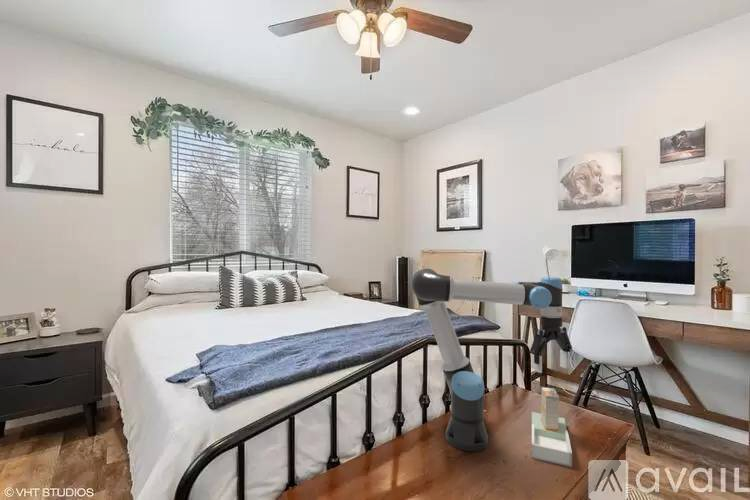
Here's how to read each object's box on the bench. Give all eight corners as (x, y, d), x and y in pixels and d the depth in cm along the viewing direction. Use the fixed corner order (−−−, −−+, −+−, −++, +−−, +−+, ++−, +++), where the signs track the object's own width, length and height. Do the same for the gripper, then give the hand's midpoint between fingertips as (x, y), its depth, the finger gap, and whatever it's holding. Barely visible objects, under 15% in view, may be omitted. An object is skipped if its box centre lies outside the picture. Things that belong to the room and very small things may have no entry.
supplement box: (559, 431, 131) (559, 396, 130) (545, 429, 132) (545, 395, 132) (553, 420, 139) (554, 388, 138) (540, 419, 140) (541, 386, 140)
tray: (531, 457, 119) (531, 444, 119) (531, 435, 133) (531, 423, 133) (571, 467, 114) (572, 453, 114) (567, 443, 128) (567, 431, 128)
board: (531, 435, 133) (531, 427, 133) (531, 419, 146) (531, 411, 146) (567, 443, 128) (567, 435, 128) (564, 425, 141) (564, 418, 141)
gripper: (535, 320, 130) (535, 377, 131) (582, 315, 140) (582, 368, 140) (520, 316, 137) (519, 370, 138) (565, 312, 147) (565, 362, 147)
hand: (551, 369), depth 139 cm, fingers open, 13 cm apart
